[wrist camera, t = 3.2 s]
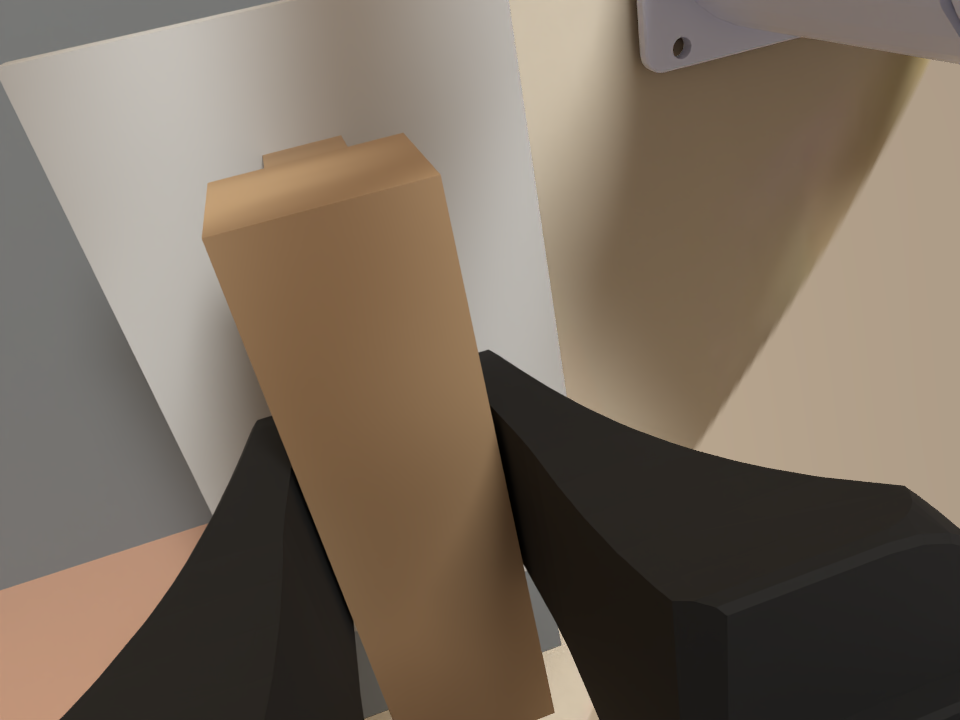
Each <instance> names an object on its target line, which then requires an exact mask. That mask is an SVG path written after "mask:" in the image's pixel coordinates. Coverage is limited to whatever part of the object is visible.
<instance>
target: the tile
mask: <svg viewBox="0 0 960 720" xmlns="http://www.w3.org/2000/svg"><path fill="white" fill-rule="evenodd" d="M207 525H208V523H207V524H204V525H201V526H198V527H195V528H192V529H189V530H185V531H182V532H179V533H176V534H173V535H170V536H167V537H164V538H161V539H158V540H155V541H151V542H148V543H145V544H142V545H139V546H136V547H133V548H130V549H127V550H124V551H121V552H118V553H114V554H111V555H108V556H105V557H102V558H99V559H96V560H93V561H90V562H87V563H84V564H80V565H77V566H74V567H71V568H68V569H65V570H62V571H59V572H56V573H53V574H50V575H46V576H43V577H40V578H37V579H34V580H31V581H28V582H25V583H22V584H19V585H16V586H12V587H9V588H6V589H3V590H0V720H59V719H60V718H61V717H62V716H63V715H64V714H65V713H66V712H67V711H68V710H69V709H70V708H71V707H72V706H73V705H74V704H75V703H76V702H77V701H78V699H79V698H80V697H81V696H82V695H83V694H84V693H85V692H86V691H87V690H88V689H89V688H90V687H91V686H92V684H93V683H94V682H95V681H96V680H97V679H98V678H99V677H100V675H101V674H102V673H103V672H104V671H105V669H106V668H107V667H108V666H109V665H110V663H111V662H112V661H113V660H114V659H115V657H116V656H117V655H118V654H119V653H120V651H121V650H122V649H123V648H124V647H125V645H126V644H127V643H128V642H129V641H130V639H131V638H132V637H133V636H134V635H135V633H136V632H137V631H138V630H139V629H140V627H141V626H142V625H143V624H144V622H145V621H146V620H147V618H148V617H149V616H150V614H151V613H152V612H153V610H154V609H155V608H156V606H157V605H158V603H159V602H160V601H161V599H162V598H163V596H164V595H165V594H166V592H167V591H168V589H169V588H170V587H171V585H172V584H173V582H174V581H175V579H176V577H177V576H178V574H179V573H180V571H181V570H182V568H183V566H184V565H185V563H186V562H187V560H188V558H189V556H190V555H191V553H192V551H193V549H194V548H195V546H196V544H197V542H198V541H199V539H200V537H201V535H202V534H203V532H204V530H205V528H206V527H207Z"/></svg>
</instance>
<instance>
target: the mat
mask: <svg viewBox="0 0 960 720" xmlns="http://www.w3.org/2000/svg"><path fill="white" fill-rule="evenodd" d="M276 1H280V0H0V65H2V64H3V63H5V62H9V61H14V60H18V59H22V58H27V57H31V56H36V55H40V54H45V53H49V52H54V51H58V50H62V49H67V48H71V47H76V46H80V45H85V44H89V43H94V42H98V41H102V40H107V39H111V38H116V37H120V36H125V35H129V34H134V33H138V32H142V31H147V30H151V29H156V28H160V27H165V26H169V25H173V24H178V23H182V22H187V21H191V20H196V19H200V18H205V17H209V16H213V15H218V14H222V13H227V12H231V11H236V10H240V9H245V8H249V7H253V6H258V5H262V4H267V3H271V2H276ZM211 517H212V513H211V511H210V509H209V507H208V505H207V503H206V501H205V499H204V497H203V495H202V493H201V491H200V488H199V486H198V484H197V482H196V480H195V478H194V476H193V474H192V472H191V470H190V468H189V466H188V464H187V462H186V460H185V458H184V456H183V454H182V452H181V450H180V448H179V446H178V443H177V441H176V439H175V437H174V435H173V433H172V431H171V429H170V427H169V425H168V423H167V421H166V419H165V417H164V415H163V413H162V411H161V409H160V407H159V405H158V403H157V400H156V398H155V396H154V394H153V392H152V390H151V388H150V386H149V384H148V382H147V380H146V378H145V376H144V374H143V372H142V370H141V368H140V366H139V364H138V362H137V360H136V357H135V355H134V353H133V351H132V349H131V347H130V345H129V343H128V341H127V339H126V337H125V335H124V333H123V331H122V329H121V327H120V325H119V323H118V321H117V319H116V317H115V314H114V312H113V310H112V308H111V306H110V304H109V302H108V300H107V298H106V296H105V294H104V292H103V290H102V288H101V286H100V284H99V282H98V280H97V278H96V276H95V274H94V272H93V269H92V267H91V265H90V263H89V261H88V259H87V257H86V255H85V253H84V251H83V249H82V247H81V245H80V243H79V241H78V239H77V237H76V235H75V233H74V231H73V229H72V226H71V224H70V222H69V220H68V218H67V216H66V214H65V212H64V210H63V208H62V206H61V204H60V202H59V200H58V198H57V196H56V194H55V192H54V190H53V188H52V186H51V183H50V181H49V179H48V177H47V175H46V173H45V171H44V169H43V167H42V165H41V163H40V161H39V159H38V157H37V155H36V153H35V151H34V149H33V147H32V145H31V143H30V141H29V138H28V136H27V134H26V132H25V130H24V128H23V126H22V124H21V122H20V120H19V118H18V116H17V114H16V112H15V110H14V108H13V106H12V104H11V102H10V100H9V98H8V95H7V93H6V91H5V89H4V87H3V85H2V83H1V81H0V590H3V589H6V588H9V587H12V586H16V585H19V584H22V583H25V582H28V581H31V580H34V579H37V578H40V577H43V576H46V575H50V574H53V573H56V572H59V571H62V570H65V569H68V568H71V567H74V566H77V565H80V564H84V563H87V562H90V561H93V560H96V559H99V558H102V557H105V556H108V555H111V554H114V553H118V552H121V551H124V550H127V549H130V548H133V547H136V546H139V545H142V544H145V543H148V542H151V541H155V540H158V539H161V538H164V537H167V536H170V535H173V534H176V533H179V532H182V531H185V530H189V529H192V528H195V527H198V526H201V525H204V524H207V523H209V521H210V519H211ZM525 575H526V580H527V585H528V589H529V594H530V599H531V604H532V608H533V613H534V618H535V622H536V627H537V632H538V637H539V641H540V646H541V651H542V652H544V651H547V650H550V649H552V648H555V647H558V646H561V641H560V636H559V630H558V626H557V624H556V622H555V620H554V618H553V617H552V615H551V613H550V611H549V609H548V608H547V606H546V604H545V602H544V600H543V599H542V597H541V595H540V593H539V592H538V590H537V588H536V586H535V584H534V583H533V581H532V579H531V577H530V575H529V574H528V572H527V571H525ZM355 642H356V652H357V662H358V673H359V683H360V693H361V701H362V708H363V715H364V719H365V718H367V717H370V716H373V715H376V714H378V713H381V712H384V711H386V710H389V709H388V706H387V704H386V701H385V699H384V696H383V694H382V691H381V689H380V686H379V684H378V681H377V679H376V676H375V674H374V671H373V669H372V666H371V664H370V661H369V659H368V656H367V654H366V651H365V649H364V646H363V643H362V641H361V638H360V636H359V633H358V631H355Z"/></svg>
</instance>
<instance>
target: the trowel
mask: <svg viewBox="0 0 960 720" xmlns="http://www.w3.org/2000/svg"><path fill="white" fill-rule="evenodd" d="M0 81H1V83H2V85H3V87H4V89H5V91H6V93H7V95H8V98H9V100H10V102H11V104H12V106H13V108H14V110H15V112H16V114H17V116H18V118H19V120H20V122H21V124H22V126H23V128H24V130H25V132H26V134H27V136H28V138H29V141H30V143H31V145H32V147H33V149H34V151H35V153H36V155H37V157H38V159H39V161H40V163H41V165H42V167H43V169H44V171H45V173H46V175H47V177H48V179H49V181H50V183H51V186H52V188H53V190H54V192H55V194H56V196H57V198H58V200H59V202H60V204H61V206H62V208H63V210H64V212H65V214H66V216H67V218H68V220H69V222H70V224H71V226H72V229H73V231H74V233H75V235H76V237H77V239H78V241H79V243H80V245H81V247H82V249H83V251H84V253H85V255H86V257H87V259H88V261H89V263H90V265H91V267H92V269H93V272H94V274H95V276H96V278H97V280H98V282H99V284H100V286H101V288H102V290H103V292H104V294H105V296H106V298H107V300H108V302H109V304H110V306H111V308H112V310H113V312H114V314H115V317H116V319H117V321H118V323H119V325H120V327H121V329H122V331H123V333H124V335H125V337H126V339H127V341H128V343H129V345H130V347H131V349H132V351H133V353H134V355H135V357H136V360H137V362H138V364H139V366H140V368H141V370H142V372H143V374H144V376H145V378H146V380H147V382H148V384H149V386H150V388H151V390H152V392H153V394H154V396H155V398H156V400H157V403H158V405H159V407H160V409H161V411H162V413H163V415H164V417H165V419H166V421H167V423H168V425H169V427H170V429H171V431H172V433H173V435H174V437H175V439H176V441H177V443H178V446H179V448H180V450H181V452H182V454H183V456H184V458H185V460H186V462H187V464H188V466H189V468H190V470H191V472H192V474H193V476H194V478H195V480H196V482H197V484H198V486H199V488H200V491H201V493H202V495H203V497H204V499H205V501H206V503H207V505H208V507H209V509H210V511H211V513H212V515H213V514H214V512H215V510H216V508H217V506H218V503H219V501H220V499H221V497H222V495H223V493H224V491H225V489H226V487H227V485H228V483H229V481H230V479H231V477H232V474H233V472H234V470H235V468H236V465H237V463H238V461H239V459H240V456H241V454H242V452H243V449H244V447H245V444H246V442H247V440H248V437H249V435H250V432H251V430H252V428H253V426H254V425H255V423H256V421H257V420H259V419H262V418H266V417H269V416H272V417H273V419H274V422H275V425H276V427H277V430H278V432H279V435H280V437H281V440H282V442H283V445H284V447H285V450H286V452H287V455H288V457H289V460H290V462H291V465H292V467H293V470H294V472H295V475H296V477H297V480H298V482H299V485H300V487H301V490H302V492H303V495H304V498H305V500H306V503H307V505H308V508H309V510H310V513H311V515H312V518H313V520H314V523H315V525H316V528H317V530H318V533H319V535H320V538H321V540H322V543H323V545H324V548H325V550H326V553H327V555H328V558H329V560H330V563H331V565H332V568H333V571H334V573H335V576H336V578H337V581H338V583H339V586H340V588H341V591H342V593H343V596H344V598H345V601H346V603H347V606H348V608H349V611H350V613H351V616H352V618H353V621H354V631H358V633H359V636H360V638H361V641H362V643H363V646H364V649H365V651H366V654H367V656H368V659H369V661H370V664H371V666H372V669H373V671H374V674H375V676H376V679H377V681H378V684H379V686H380V689H381V691H382V694H383V696H384V699H385V701H386V704H387V706H388V709H389V711H390V714H391V716H392V719H393V720H537V719H540V718H542V717H545V716H547V715H550V714H553V713H555V712H554V707H553V703H552V698H551V693H550V688H549V684H548V679H547V674H546V670H545V665H544V660H543V655H542V651H541V646H540V641H539V637H538V632H537V627H536V622H535V618H534V613H533V608H532V604H531V599H530V594H529V589H528V585H527V580H526V575H525V571H527V570H526V568H525V566H524V565H523V561H522V556H521V552H520V547H519V542H518V537H517V533H516V528H515V523H514V519H513V514H512V509H511V504H510V500H509V495H508V490H507V485H506V481H505V476H504V471H503V467H502V462H501V457H500V452H499V448H498V443H497V438H496V434H495V429H494V424H493V419H492V415H491V410H490V405H489V400H488V396H487V391H486V386H485V382H484V377H483V372H482V367H481V363H480V358H479V353H478V352H482V351H485V350H488V349H489V350H491V351H492V352H494V353H496V354H497V355H499V356H501V357H502V358H504V359H505V360H507V361H508V362H510V363H511V364H513V365H514V366H516V367H518V368H519V369H521V370H522V371H524V372H525V373H527V374H529V375H530V376H532V377H533V378H535V379H537V380H538V381H540V382H541V383H543V384H545V385H546V386H548V387H550V388H551V389H553V390H555V391H557V392H559V393H560V394H562V395H564V396H566V397H567V395H566V388H565V381H564V374H563V367H562V361H561V354H560V347H559V340H558V333H557V326H556V320H555V313H554V306H553V299H552V292H551V285H550V279H549V272H548V265H547V258H546V251H545V244H544V237H543V231H542V224H541V217H540V210H539V203H538V196H537V190H536V183H535V176H534V169H533V162H532V155H531V148H530V142H529V135H528V128H527V121H526V114H525V107H524V101H523V94H522V87H521V80H520V73H519V66H518V59H517V53H516V46H515V39H514V32H513V25H512V18H511V12H510V5H509V0H280V1H276V2H271V3H267V4H262V5H258V6H253V7H249V8H245V9H240V10H236V11H231V12H227V13H222V14H218V15H213V16H209V17H205V18H200V19H196V20H191V21H187V22H182V23H178V24H173V25H169V26H165V27H160V28H156V29H151V30H147V31H142V32H138V33H134V34H129V35H125V36H120V37H116V38H111V39H107V40H102V41H98V42H94V43H89V44H85V45H80V46H76V47H71V48H67V49H62V50H58V51H54V52H49V53H45V54H40V55H36V56H31V57H27V58H22V59H18V60H14V61H9V62H5V63H3V64H2V65H0Z"/></svg>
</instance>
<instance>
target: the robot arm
mask: <svg viewBox="0 0 960 720" xmlns="http://www.w3.org/2000/svg"><path fill="white" fill-rule="evenodd" d="M637 14H638V29H639V44H640V57H641V61H642V63H643V65H644V66H645V67H646V68H647V69H649V70H651V71H654V72H657V73H665V72H668V71H672V70H676V69H680V68H684V67H688V66H692V65H695V64H699V63H703V62H707V61H711V60H715V59H719V58H722V57H726V56H730V55H734V54H738V53H742V52H746V51H749V50H753V49H757V48H761V47H765V46H769V45H773V44H776V43H780V42H784V41H788V40H792V39H796V38H800V37H805V38H810V39H816V40H822V41H828V42H834V43H839V44H845V45H851V46H857V47H863V48H868V49H874V50H880V51H886V52H892V53H897V54H903V55H909V56H915V57H921V58H926V59H932V60H938V61H945V62H950V63H956V64H960V0H637ZM679 38H682V39H683V42H684V46H683V50H682V52H681V53H680V54H679V55H678V56H676V57H675V56H674V54H673V45H674V43H675V42H676V40H677V39H679ZM478 353H479V358H480V363H481V367H482V372H483V377H484V382H485V386H486V391H487V396H488V400H489V405H490V410H491V415H492V419H493V424H494V429H495V434H496V438H497V443H498V448H499V452H500V457H501V462H502V467H503V471H504V476H505V481H506V485H507V490H508V495H509V500H510V504H511V509H512V514H513V519H514V523H515V528H516V533H517V537H518V542H519V547H520V552H521V556H522V561H523V565H524V566H525V568H526V570H527V572H528V574H529V575H530V577H531V579H532V581H533V583H534V584H535V586H536V588H537V590H538V592H539V593H540V595H541V597H542V599H543V600H544V602H545V604H546V606H547V608H548V609H549V611H550V613H551V615H552V617H553V618H554V620H555V622H556V624H557V626H558V628H559V630H560V632H561V634H562V636H563V638H564V640H565V642H566V644H567V646H568V648H569V650H570V652H571V654H572V657H573V659H574V661H575V664H576V666H577V668H578V671H579V673H580V675H581V678H582V680H583V682H584V685H585V687H586V689H587V692H588V694H589V696H590V699H591V701H592V703H593V706H594V708H595V710H596V713H597V715H598V717H599V720H960V529H959V528H958V527H957V526H956V525H954V524H953V523H952V522H951V521H950V520H948V519H947V518H946V517H945V516H944V515H942V514H941V513H940V512H939V511H938V510H936V509H935V508H934V507H932V506H931V505H930V504H928V503H927V502H926V501H925V500H923V499H921V497H919V496H918V495H917V494H915V493H914V492H912V491H911V490H909V489H908V488H906V487H905V486H901V485H891V484H881V483H872V482H862V481H853V480H844V479H834V478H825V477H817V476H811V475H805V474H799V473H794V472H788V471H782V470H776V469H771V468H765V467H761V466H756V465H751V464H747V463H742V462H738V461H733V460H730V459H726V458H722V457H719V456H714V455H711V454H707V453H703V452H700V451H696V450H693V449H689V448H686V447H683V446H680V445H676V444H673V443H670V442H668V441H665V440H662V439H659V438H657V437H654V436H651V435H648V434H646V433H643V432H640V431H637V430H635V429H632V428H630V427H627V426H625V425H623V424H620V423H618V422H616V421H613V420H611V419H609V418H607V417H605V416H603V415H601V414H599V413H596V412H594V411H592V410H590V409H588V408H586V407H584V406H582V405H580V404H578V403H576V402H575V401H573V400H571V399H569V398H568V397H566V396H564V395H562V394H560V393H559V392H557V391H555V390H553V389H551V388H550V387H548V386H546V385H545V384H543V383H541V382H540V381H538V380H537V379H535V378H533V377H532V376H530V375H529V374H527V373H525V372H524V371H522V370H521V369H519V368H518V367H516V366H514V365H513V364H511V363H510V362H508V361H507V360H505V359H504V358H502V357H501V356H499V355H497V354H496V353H494V352H492V351H491V350H489V349H488V350H485V351H482V352H478ZM59 720H364V715H363V708H362V701H361V693H360V683H359V673H358V662H357V652H356V642H355V631H354V621H353V618H352V616H351V613H350V611H349V608H348V606H347V603H346V601H345V598H344V596H343V593H342V591H341V588H340V586H339V583H338V581H337V578H336V576H335V573H334V571H333V568H332V565H331V563H330V560H329V558H328V555H327V553H326V550H325V548H324V545H323V543H322V540H321V538H320V535H319V533H318V530H317V528H316V525H315V523H314V520H313V518H312V515H311V513H310V510H309V508H308V505H307V503H306V500H305V498H304V495H303V492H302V490H301V487H300V485H299V482H298V480H297V477H296V475H295V472H294V470H293V467H292V465H291V462H290V460H289V457H288V455H287V452H286V450H285V447H284V445H283V442H282V440H281V437H280V435H279V432H278V430H277V427H276V425H275V422H274V419H273V417H272V416H269V417H266V418H262V419H259V420H257V421H256V423H255V425H254V426H253V428H252V430H251V432H250V435H249V437H248V440H247V442H246V444H245V447H244V449H243V452H242V454H241V456H240V459H239V461H238V463H237V465H236V468H235V470H234V472H233V474H232V477H231V479H230V481H229V483H228V485H227V487H226V489H225V491H224V493H223V495H222V497H221V499H220V501H219V503H218V506H217V508H216V510H215V512H214V514H213V515H212V517H211V519H210V521H209V523H208V525H207V527H206V528H205V530H204V532H203V534H202V535H201V537H200V539H199V541H198V542H197V544H196V546H195V548H194V549H193V551H192V553H191V555H190V556H189V558H188V560H187V562H186V563H185V565H184V566H183V568H182V570H181V571H180V573H179V574H178V576H177V577H176V579H175V581H174V582H173V584H172V585H171V587H170V588H169V589H168V591H167V592H166V594H165V595H164V596H163V598H162V599H161V601H160V602H159V603H158V605H157V606H156V608H155V609H154V610H153V612H152V613H151V614H150V616H149V617H148V618H147V620H146V621H145V622H144V624H143V625H142V626H141V627H140V629H139V630H138V631H137V632H136V633H135V635H134V636H133V637H132V638H131V639H130V641H129V642H128V643H127V644H126V645H125V647H124V648H123V649H122V650H121V651H120V653H119V654H118V655H117V656H116V657H115V659H114V660H113V661H112V662H111V663H110V665H109V666H108V667H107V668H106V669H105V671H104V672H103V673H102V674H101V675H100V677H99V678H98V679H97V680H96V681H95V682H94V683H93V684H92V686H91V687H90V688H89V689H88V690H87V691H86V692H85V693H84V694H83V695H82V696H81V697H80V698H79V699H78V701H77V702H76V703H75V704H74V705H73V706H72V707H71V708H70V709H69V710H68V711H67V712H66V713H65V714H64V715H63V716H62V717H61V718H60V719H59Z"/></svg>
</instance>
